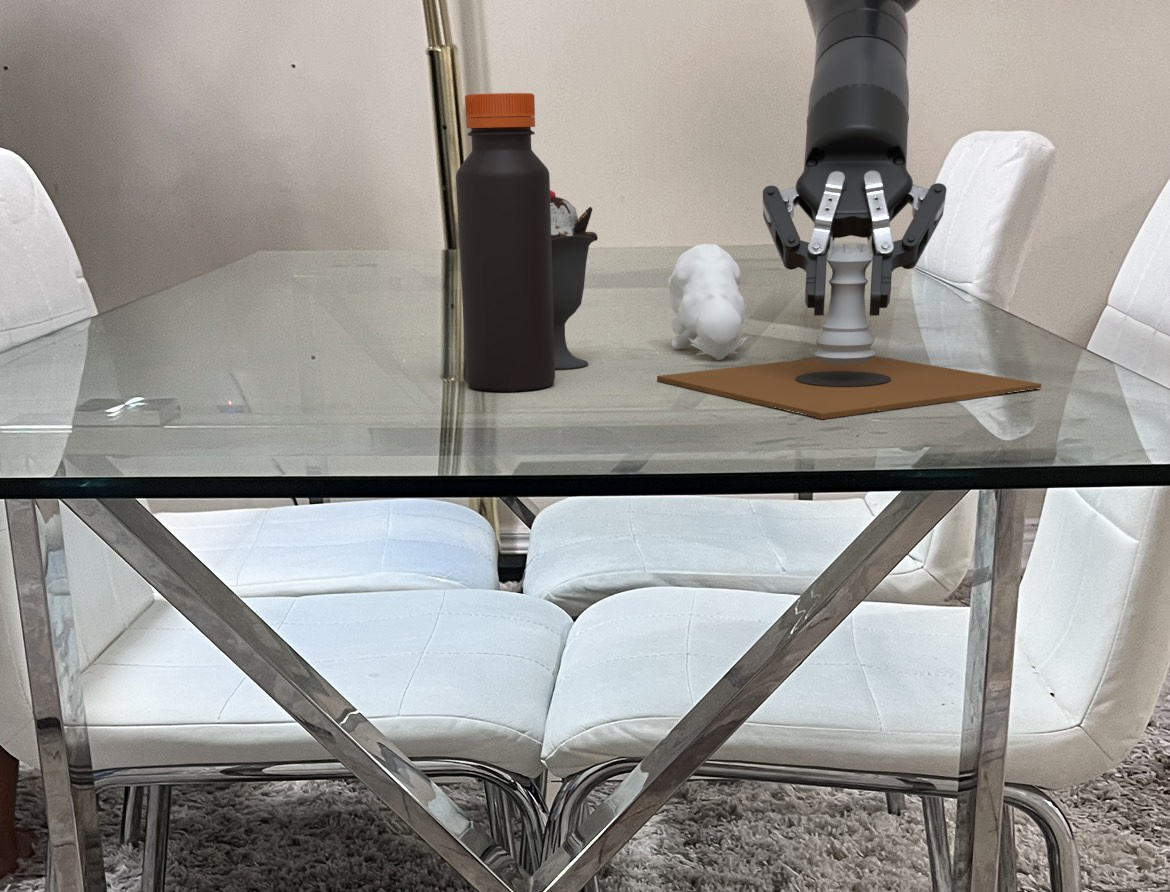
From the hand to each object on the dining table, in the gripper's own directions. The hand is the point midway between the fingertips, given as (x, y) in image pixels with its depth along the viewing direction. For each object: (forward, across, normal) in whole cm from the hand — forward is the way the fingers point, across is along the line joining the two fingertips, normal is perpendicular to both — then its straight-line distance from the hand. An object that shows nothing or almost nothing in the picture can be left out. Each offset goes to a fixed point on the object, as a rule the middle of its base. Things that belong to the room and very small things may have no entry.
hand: (847, 307), depth 100 cm
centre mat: (+3, 0, +5) cm, 6 cm away
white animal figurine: (-9, -11, +17) cm, 23 cm away
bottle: (+4, -25, +4) cm, 26 cm away
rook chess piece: (+2, 0, +4) cm, 5 cm away
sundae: (-4, -23, +12) cm, 27 cm away
